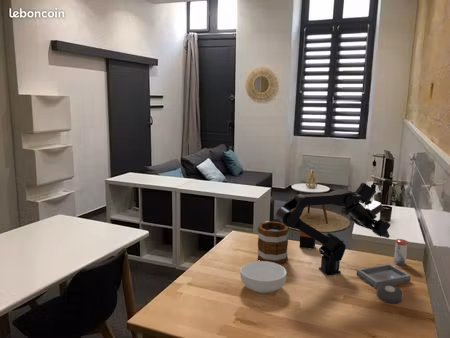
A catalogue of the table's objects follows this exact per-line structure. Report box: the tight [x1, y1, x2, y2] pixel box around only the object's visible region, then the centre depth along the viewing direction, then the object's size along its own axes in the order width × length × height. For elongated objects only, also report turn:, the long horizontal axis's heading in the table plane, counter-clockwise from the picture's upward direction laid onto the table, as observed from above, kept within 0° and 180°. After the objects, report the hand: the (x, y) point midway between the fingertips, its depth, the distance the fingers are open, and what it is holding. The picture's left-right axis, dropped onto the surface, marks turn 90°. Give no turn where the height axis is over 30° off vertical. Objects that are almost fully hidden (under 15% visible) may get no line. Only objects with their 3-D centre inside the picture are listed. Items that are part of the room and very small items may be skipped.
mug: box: [257, 220, 289, 266], centre depth 163 cm, size 20×14×15 cm
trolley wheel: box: [376, 284, 403, 304], centre depth 130 cm, size 8×8×4 cm
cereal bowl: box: [239, 260, 288, 294], centre depth 136 cm, size 17×17×7 cm
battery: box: [299, 225, 317, 250], centre depth 174 cm, size 4×7×10 cm, turn 70°
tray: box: [356, 263, 412, 289], centre depth 144 cm, size 16×11×2 cm
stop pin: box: [393, 238, 408, 266], centre depth 156 cm, size 4×4×10 cm
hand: (381, 233), depth 154 cm, fingers open, 9 cm apart
